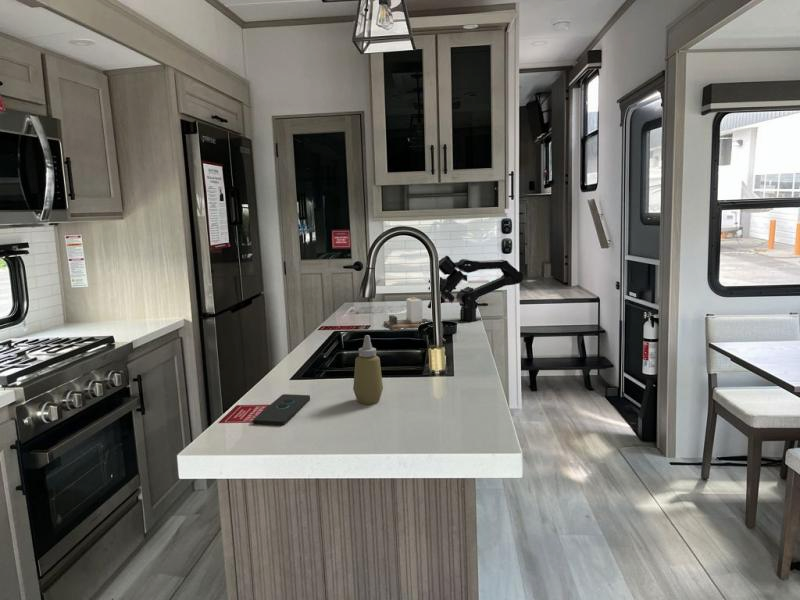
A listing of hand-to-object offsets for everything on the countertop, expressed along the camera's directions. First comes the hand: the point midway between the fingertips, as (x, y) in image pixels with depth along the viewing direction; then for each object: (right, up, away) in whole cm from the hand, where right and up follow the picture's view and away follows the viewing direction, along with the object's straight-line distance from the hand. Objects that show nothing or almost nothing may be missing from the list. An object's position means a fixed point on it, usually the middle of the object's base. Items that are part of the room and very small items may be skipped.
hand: (428, 307), depth 258 cm
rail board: (-9, -8, -2) cm, 12 cm away
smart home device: (-43, -26, -108) cm, 119 cm away
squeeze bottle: (-21, -24, -102) cm, 107 cm away
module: (-6, -6, -1) cm, 9 cm away
